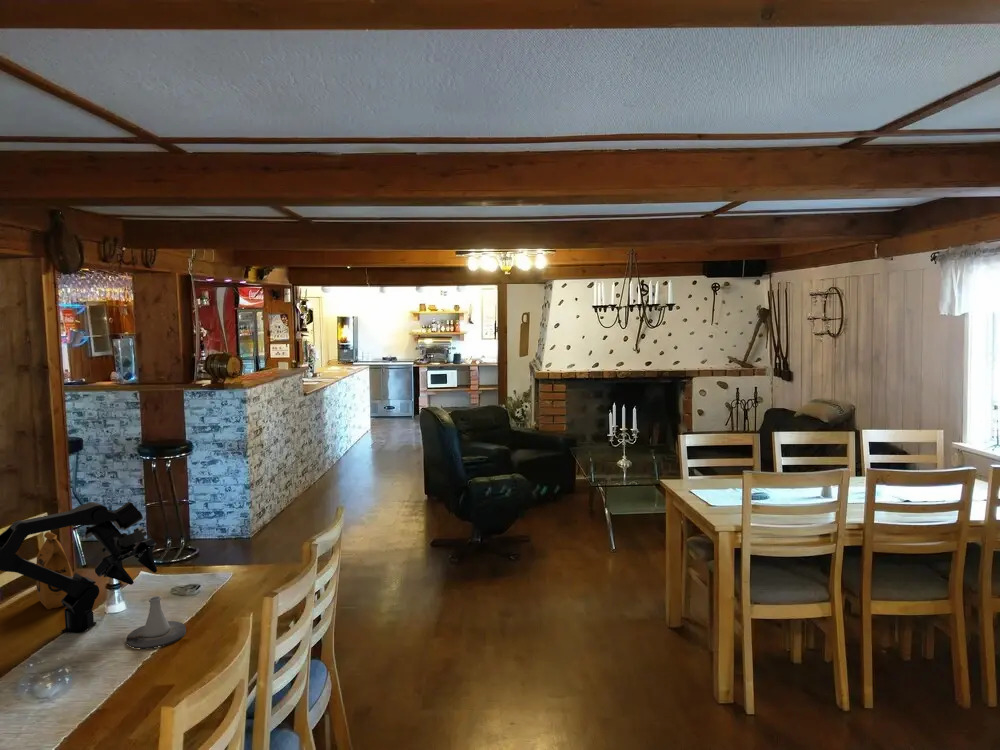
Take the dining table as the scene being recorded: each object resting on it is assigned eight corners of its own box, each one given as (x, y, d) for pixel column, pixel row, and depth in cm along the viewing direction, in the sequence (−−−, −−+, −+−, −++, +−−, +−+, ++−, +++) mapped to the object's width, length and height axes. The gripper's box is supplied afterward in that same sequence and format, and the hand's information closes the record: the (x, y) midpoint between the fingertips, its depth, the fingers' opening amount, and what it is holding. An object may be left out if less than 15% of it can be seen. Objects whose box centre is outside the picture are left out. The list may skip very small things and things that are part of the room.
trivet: (114, 648, 187) (114, 643, 187) (148, 624, 202) (148, 619, 202) (166, 650, 186) (165, 645, 186) (196, 625, 201) (196, 621, 201)
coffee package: (39, 612, 211) (35, 543, 209) (36, 600, 221) (31, 533, 219) (77, 604, 217) (73, 536, 215) (72, 592, 227) (68, 527, 225)
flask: (166, 636, 191) (164, 602, 190) (138, 639, 190) (136, 604, 189) (174, 625, 198) (172, 592, 197) (147, 627, 197) (145, 593, 196)
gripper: (100, 531, 193) (135, 572, 191) (149, 512, 211) (182, 549, 209) (79, 556, 196) (114, 597, 194) (129, 535, 214) (161, 572, 212)
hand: (144, 577), depth 202 cm, fingers open, 9 cm apart
